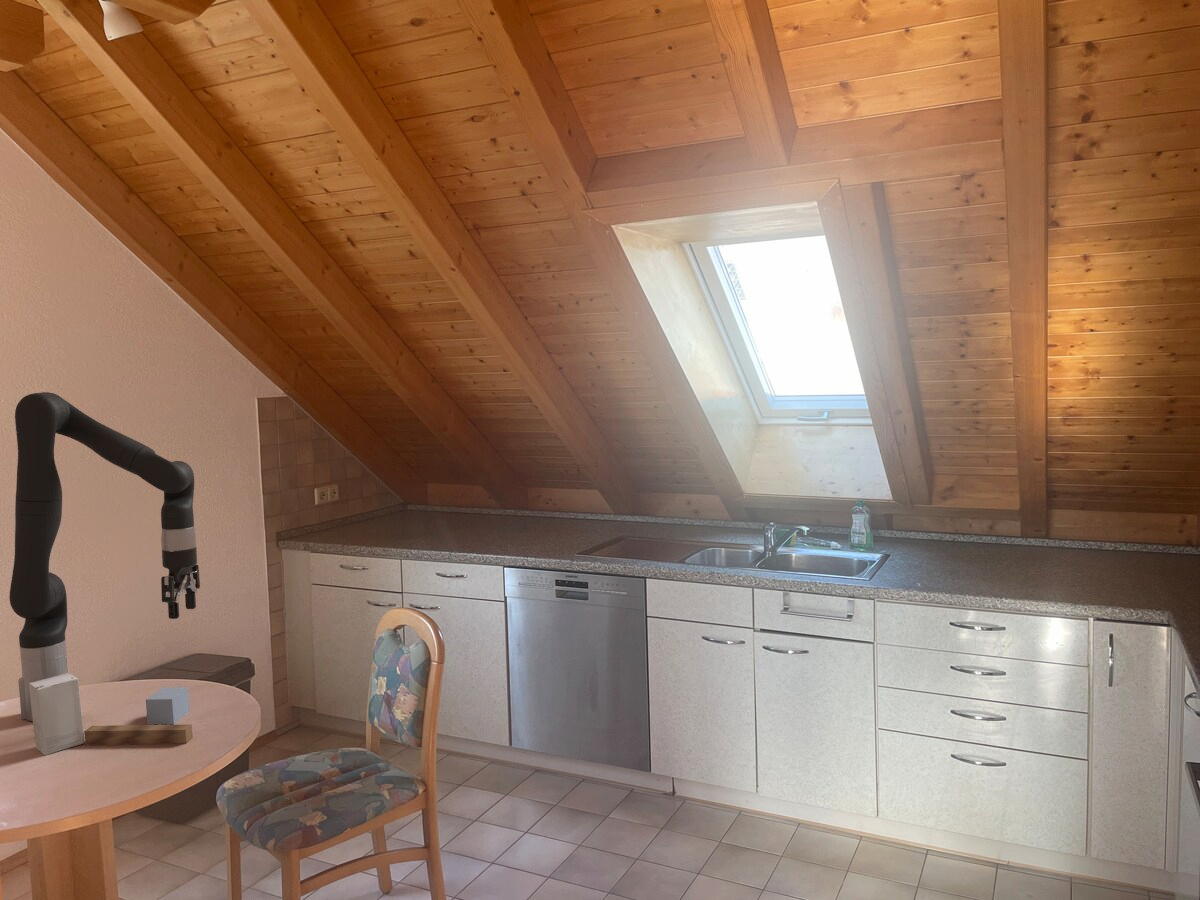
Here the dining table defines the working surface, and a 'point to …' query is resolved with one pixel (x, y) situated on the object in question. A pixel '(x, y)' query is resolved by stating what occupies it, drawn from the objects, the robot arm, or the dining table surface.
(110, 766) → the dining table surface
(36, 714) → the skincare box
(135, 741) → the board
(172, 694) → the block
